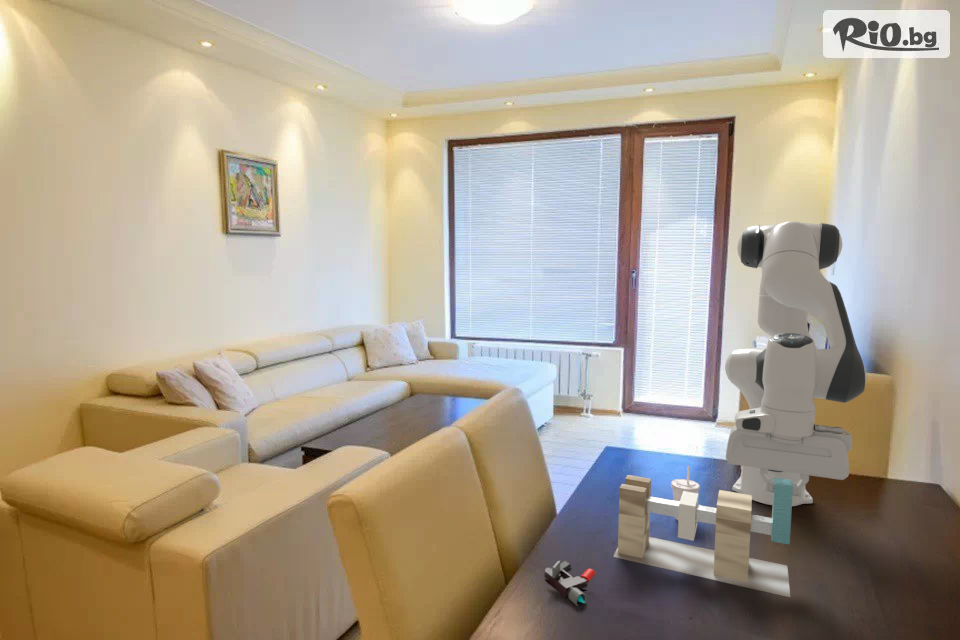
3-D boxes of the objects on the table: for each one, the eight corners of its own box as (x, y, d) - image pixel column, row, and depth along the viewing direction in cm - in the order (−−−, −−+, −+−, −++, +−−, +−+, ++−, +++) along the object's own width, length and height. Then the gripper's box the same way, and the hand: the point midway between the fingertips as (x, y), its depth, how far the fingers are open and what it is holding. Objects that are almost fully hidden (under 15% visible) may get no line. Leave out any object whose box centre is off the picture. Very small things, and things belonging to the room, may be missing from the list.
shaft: (644, 508, 120) (646, 458, 119) (788, 535, 108) (791, 480, 107) (640, 515, 116) (642, 464, 115) (789, 544, 105) (792, 487, 103)
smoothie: (700, 530, 129) (703, 471, 128) (671, 528, 131) (673, 469, 129) (695, 518, 136) (698, 462, 134) (667, 516, 137) (669, 460, 136)
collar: (681, 523, 118) (683, 490, 118) (697, 526, 117) (698, 493, 116) (677, 537, 112) (679, 503, 111) (693, 540, 111) (695, 506, 110)
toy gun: (577, 612, 100) (578, 587, 99) (537, 579, 110) (538, 556, 109) (618, 596, 104) (619, 572, 104) (576, 566, 115) (577, 543, 114)
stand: (625, 536, 126) (627, 471, 125) (787, 571, 112) (791, 498, 111) (612, 562, 116) (614, 490, 114) (790, 603, 102) (794, 522, 100)
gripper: (850, 424, 103) (845, 497, 104) (728, 411, 112) (725, 478, 113) (855, 433, 97) (850, 510, 99) (726, 418, 106) (723, 489, 108)
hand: (782, 493), depth 106 cm, fingers closed on shaft, 3 cm apart
